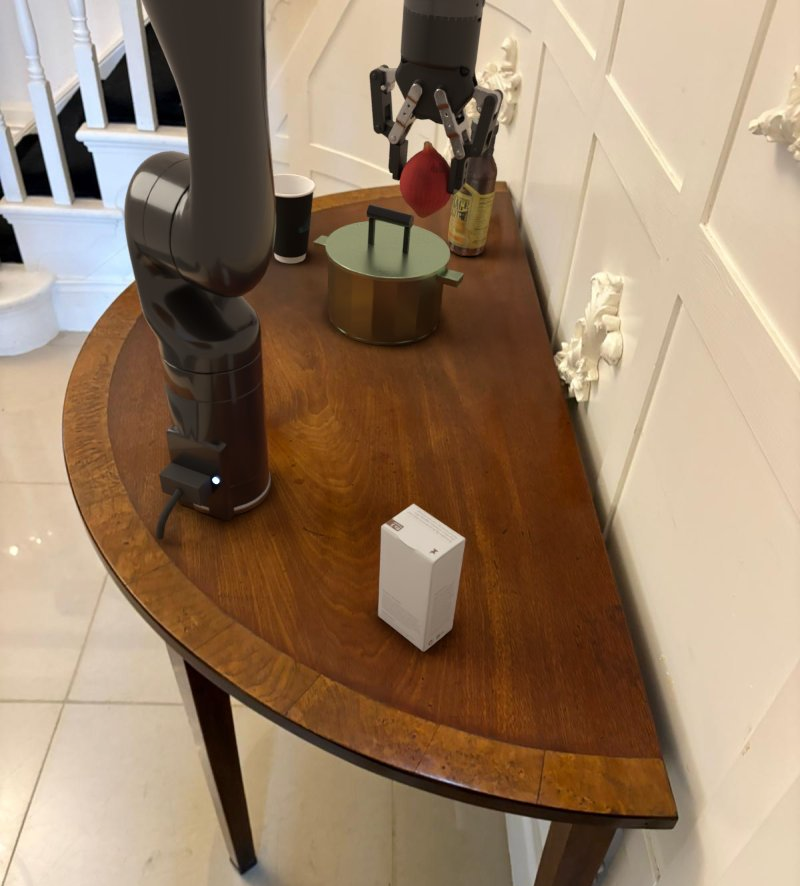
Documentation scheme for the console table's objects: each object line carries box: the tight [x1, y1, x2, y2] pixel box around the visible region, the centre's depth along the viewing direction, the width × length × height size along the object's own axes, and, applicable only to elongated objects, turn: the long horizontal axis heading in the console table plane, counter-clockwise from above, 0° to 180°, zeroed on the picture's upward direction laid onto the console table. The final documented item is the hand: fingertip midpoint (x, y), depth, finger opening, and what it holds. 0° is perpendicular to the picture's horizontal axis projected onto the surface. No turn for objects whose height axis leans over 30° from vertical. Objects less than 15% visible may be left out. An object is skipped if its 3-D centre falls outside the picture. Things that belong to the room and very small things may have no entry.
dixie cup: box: [273, 173, 317, 264], centre depth 118 cm, size 8×8×11 cm
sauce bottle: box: [447, 115, 500, 257], centre depth 121 cm, size 7×6×20 cm
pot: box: [313, 234, 465, 347], centre depth 108 cm, size 16×21×10 cm
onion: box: [399, 140, 452, 219], centre depth 85 cm, size 6×6×8 cm
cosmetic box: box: [377, 503, 466, 652], centre depth 68 cm, size 6×4×12 cm
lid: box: [324, 203, 451, 282], centre depth 103 cm, size 17×17×6 cm
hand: (426, 184), depth 86 cm, fingers closed on onion, 6 cm apart
